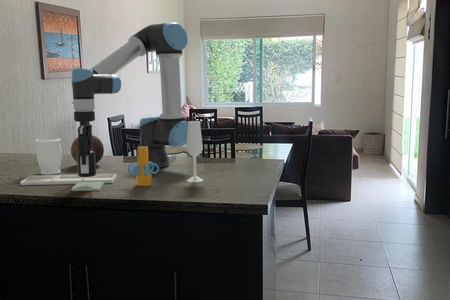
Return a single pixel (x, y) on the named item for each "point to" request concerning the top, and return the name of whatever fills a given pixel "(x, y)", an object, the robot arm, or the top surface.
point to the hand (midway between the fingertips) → (87, 171)
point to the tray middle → (68, 179)
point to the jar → (49, 155)
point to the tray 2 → (101, 178)
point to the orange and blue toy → (143, 168)
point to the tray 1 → (38, 180)
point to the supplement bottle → (90, 162)
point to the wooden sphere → (97, 148)
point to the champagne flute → (194, 145)
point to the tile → (87, 186)
